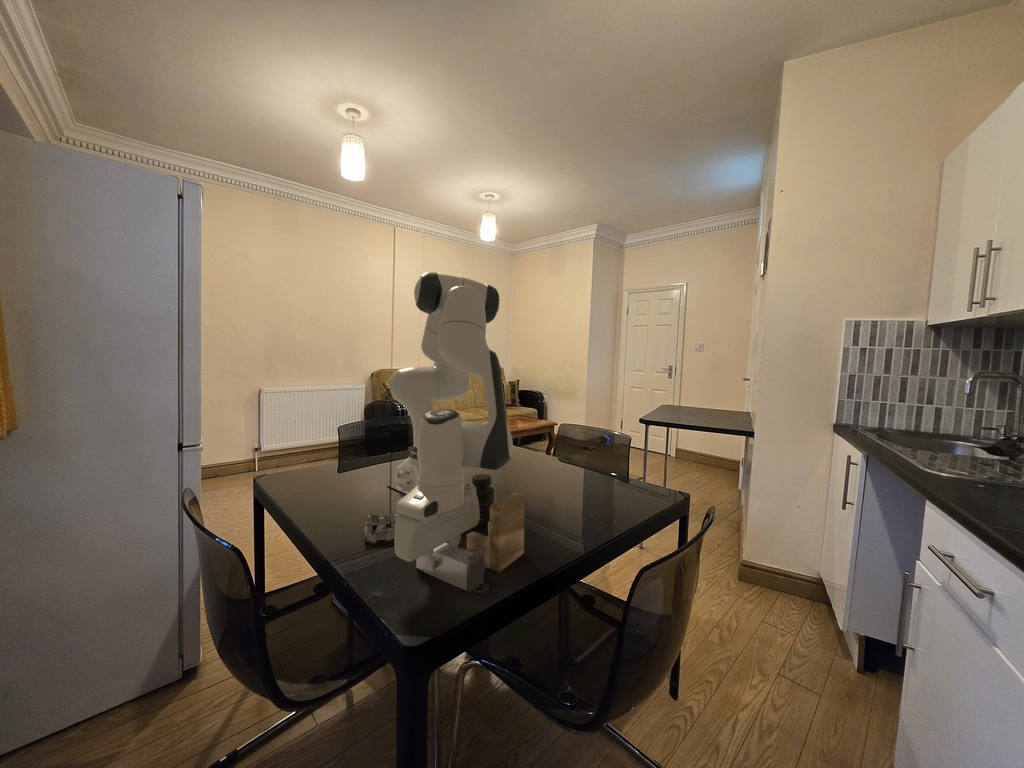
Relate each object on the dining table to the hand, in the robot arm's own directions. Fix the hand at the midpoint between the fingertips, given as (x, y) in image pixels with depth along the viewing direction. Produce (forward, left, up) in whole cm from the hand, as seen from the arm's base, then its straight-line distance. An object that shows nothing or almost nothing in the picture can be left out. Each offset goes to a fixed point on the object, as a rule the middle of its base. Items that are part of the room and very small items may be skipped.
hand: (441, 562), depth 78 cm
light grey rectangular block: (+2, 0, -2) cm, 3 cm away
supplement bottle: (-8, +23, -2) cm, 24 cm away
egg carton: (-24, +4, -2) cm, 24 cm away
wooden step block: (+5, +11, -2) cm, 12 cm away
